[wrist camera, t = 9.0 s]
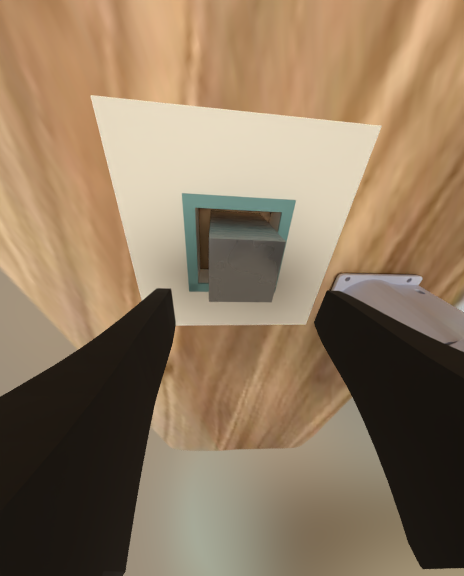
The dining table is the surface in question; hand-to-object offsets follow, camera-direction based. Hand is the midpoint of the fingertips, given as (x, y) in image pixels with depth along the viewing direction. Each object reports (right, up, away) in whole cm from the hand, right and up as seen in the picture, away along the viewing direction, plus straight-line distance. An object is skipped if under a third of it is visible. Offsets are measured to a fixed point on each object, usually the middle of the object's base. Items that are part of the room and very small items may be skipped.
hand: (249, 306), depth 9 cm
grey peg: (-1, +6, +8) cm, 9 cm away
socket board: (-1, +5, +8) cm, 9 cm away
